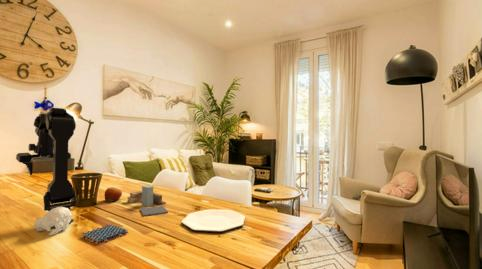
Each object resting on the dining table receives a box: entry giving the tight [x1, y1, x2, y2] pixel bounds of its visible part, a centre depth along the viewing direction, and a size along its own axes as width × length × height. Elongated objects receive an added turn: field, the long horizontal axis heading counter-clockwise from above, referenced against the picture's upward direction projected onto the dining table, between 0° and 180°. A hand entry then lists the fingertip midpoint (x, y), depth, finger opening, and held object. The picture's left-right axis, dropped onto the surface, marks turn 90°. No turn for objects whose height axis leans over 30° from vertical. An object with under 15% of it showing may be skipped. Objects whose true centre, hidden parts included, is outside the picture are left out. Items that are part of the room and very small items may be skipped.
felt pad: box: [139, 205, 169, 217], centre depth 104 cm, size 10×10×1 cm
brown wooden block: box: [153, 192, 167, 206], centre depth 119 cm, size 4×12×4 cm, turn 50°
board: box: [141, 185, 154, 208], centre depth 113 cm, size 3×5×9 cm, turn 50°
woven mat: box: [80, 223, 129, 245], centre depth 77 cm, size 10×11×2 cm
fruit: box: [104, 186, 123, 204], centre depth 120 cm, size 8×8×8 cm
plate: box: [181, 208, 246, 233], centre depth 92 cm, size 24×24×2 cm
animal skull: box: [33, 207, 73, 237], centre depth 80 cm, size 6×8×12 cm
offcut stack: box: [127, 190, 142, 204], centre depth 120 cm, size 7×4×4 cm, turn 140°
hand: (43, 173), depth 109 cm, fingers open, 9 cm apart
